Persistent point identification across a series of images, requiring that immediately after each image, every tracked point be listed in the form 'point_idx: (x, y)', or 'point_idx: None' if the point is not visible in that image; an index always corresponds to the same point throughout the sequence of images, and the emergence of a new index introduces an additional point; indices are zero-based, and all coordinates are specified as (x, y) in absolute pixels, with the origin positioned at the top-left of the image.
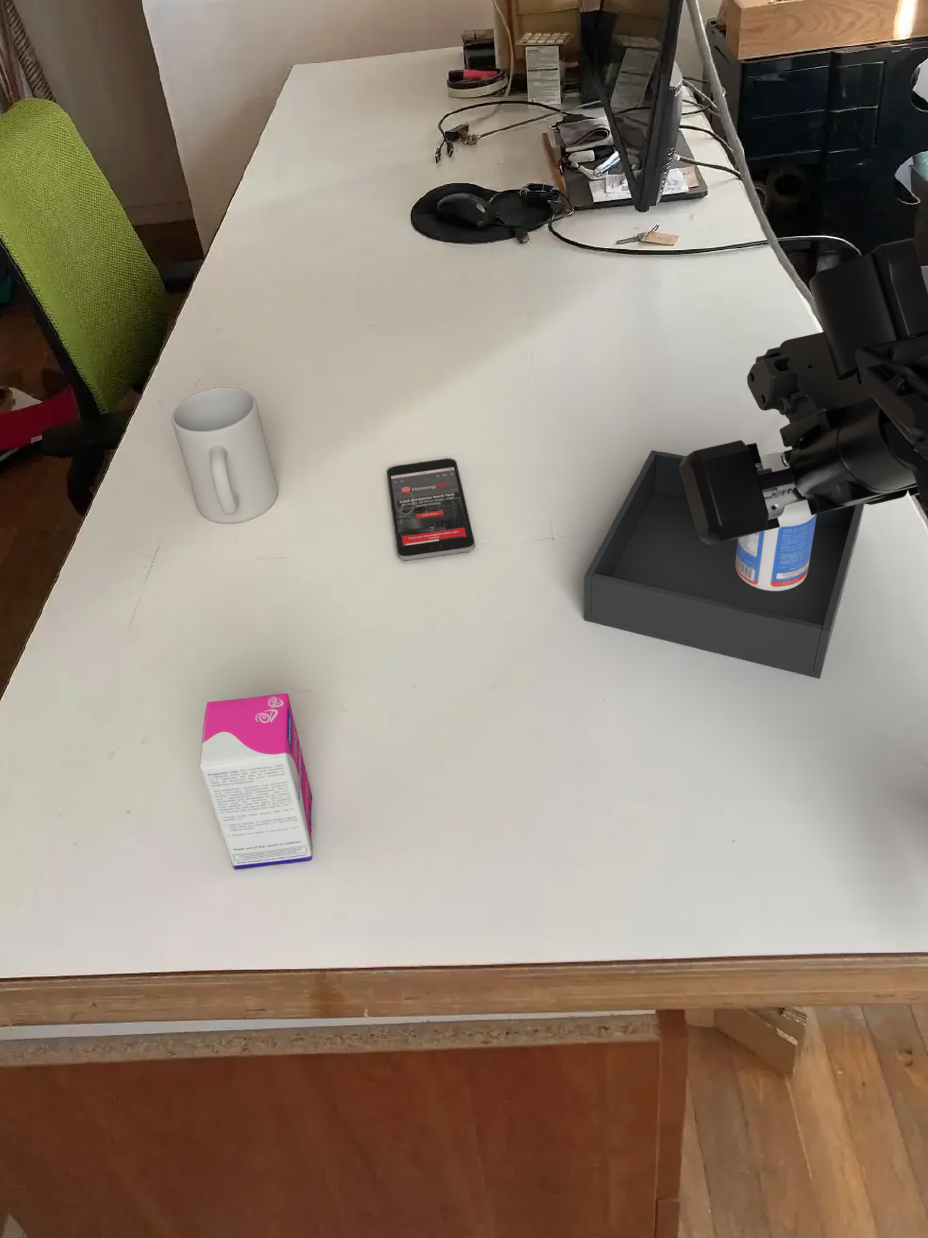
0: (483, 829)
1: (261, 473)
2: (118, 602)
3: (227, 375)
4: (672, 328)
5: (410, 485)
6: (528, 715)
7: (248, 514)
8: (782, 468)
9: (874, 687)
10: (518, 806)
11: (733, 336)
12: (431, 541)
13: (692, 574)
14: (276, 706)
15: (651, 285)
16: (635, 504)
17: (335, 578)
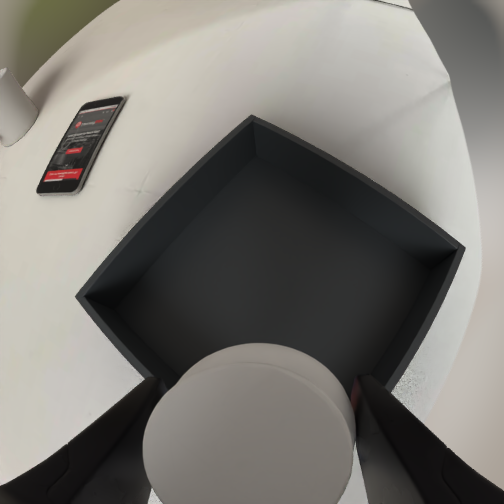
0: (9, 458)
1: (10, 118)
2: None
3: (80, 43)
4: (347, 26)
5: (83, 120)
6: (40, 395)
7: (10, 141)
8: (236, 471)
9: None
10: (24, 458)
11: (387, 42)
12: (58, 180)
13: (235, 289)
14: None
15: (344, 5)
16: (200, 182)
17: (10, 202)
